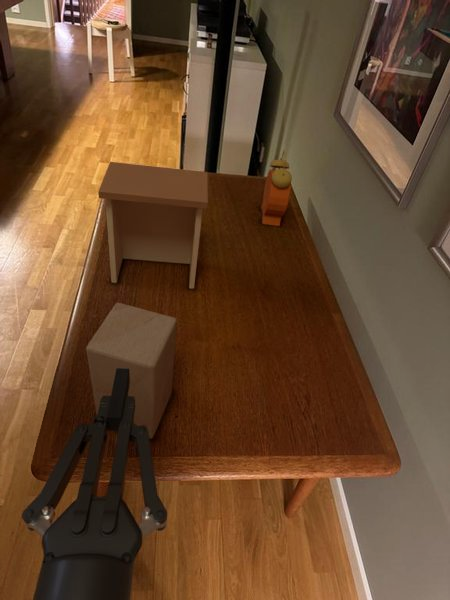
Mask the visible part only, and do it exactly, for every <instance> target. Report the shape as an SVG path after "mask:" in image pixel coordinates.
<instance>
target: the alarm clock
mask: <svg viewBox="0 0 450 600" xmlns="http://www.w3.org/2000/svg"><path fill="white" fill-rule="evenodd" d="M283 157H284V160H283ZM269 167H270V168H273V169H269V170H268V172H267V174H266V178H265V179H266V180H265V183H264V187H263V195H262V196H263V197H262V203H261V206H260V211H261V212H262V213H261V214H262V217H261V223H262V225H268V226H269V225H270V226H275V227H276V226H277V227H280V225H281V220H282V217H283V216H285V214H286V211H287V208H288V206H289V201H290V197H291V192H292V191H291V190H292V180H293V176H292V173H291V171H289V169H290V164H289V162H287V157H286V151H285V150H282V154H281V157H280V158H279V159H273V160H272V161H271V162H270V164H269Z"/></svg>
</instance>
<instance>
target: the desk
mask: <svg viewBox="0 0 450 600" xmlns="http://www.w3.org/2000/svg"><path fill="white" fill-rule="evenodd" d="M208 176H209V173H208V172H207V171H198V170H189V169H183V168H182V169H181V168H174V167H173V168H172V167H171V168H170V167H162V166H152V165H145V164H137V163H136V164H135V163H125V162H117V161H109V163H108V166H107V169H106V171H105V174H104V176H103V178H102V181H101V183H100V186H99V188H98V190H97V191H98V199H101V200H102V199H104V200H105V213H106V224H107V225H106V227H107V240H108V251H109V252H108V253H109V268H110V279H111V284H112V283H113V284H117V283H118V280H119V275H120V272H121V267H122V263H123V259H124V260H136V261H146V262H147V261H148V262H149V261H150V262H161V263H172V264H173V263H174V264H187V265H189V281H188V284H189V285H188V287H189V288H188V289H195V283H196V274H197V265H198V258H199V257H198V256H199V246H200V239H201V237H200V236H201V229H202V219H203V209H206V210H207V209H208V207H209V206H208V205H209V180H208V179H209V177H208Z"/></svg>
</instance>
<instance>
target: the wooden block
mask: <svg viewBox="0 0 450 600" xmlns="http://www.w3.org/2000/svg"><path fill="white" fill-rule="evenodd" d="M177 325H178V319H177V318H176V317H174V316H170V315H167V314H163V313H159V312H155V311H151V310H148V309H144V308H142V307H141V308H140V307H137V306H133V305H129V304H126V303H122V302H115V304H114V305H113V307H112V308H111V310H110V311H109V313H108V315H107V316H106V317H105V318H104V320H103V322H102V323H101V325H100V326H99V328H98V329H97V331H95V333H94V335H93V336H92V338H91V339H90V340H89V342H88V344H87V345H86V347H85V350H86V357H87V363H88V369H89V377H90V381H91V389H92V395H93V401H94V407H95V413H96V415H97V414H98V409H99V405H100V400H101V398H102V397H103V395H105V396H111V393H112V388H113V383H114V378H115V373H116V368H123V369H129V374H130V385H129V391H128V396H134V398H135V414H134V421H133V423H134V424H135V425H138V426H141V425H144V426H146V427H147V429H148V435H149V440H150V439H153V438H154V437H155V434H156V432H157V430H158V427H159V425H160V423H161V421H162V418H163V416H164V413H165V410H166V408H167V405H168V403H169V401H170V398H171V396H172V394H173V393H172V392H173V380H174V365H175V352H176V338H177V327H178V326H177Z"/></svg>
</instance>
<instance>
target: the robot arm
mask: <svg viewBox="0 0 450 600" xmlns="http://www.w3.org/2000/svg"><path fill="white" fill-rule="evenodd" d="M129 385H130V374H129V369H123V368H116V373H115V378H114V383H113V388H112V393H111V396H105V395H103V397H102V398H101V400H100V405H99V409H98V414H96V416H94V418H93V421H92V423H87V424H85V423H79V424H78V425H76V426H75V428H74V430H73V432H72V434H71V436H70V437H69V439H68V441H67V442H66V444H65V447H64V449H63V450H62V453H61V454H60V456H59V458H58V460H57V462H56V464H55V465H54V467H53V469H52V470H51V473H50V475H49V476H48V477H47V480H46V482H45V484H44V486H43V488H42V489H41V492H40V493H39V494H38V495H37V496H36V497H35V498H34V499H33V501H32V502H31V503H29V505H27V507H26V508H25V509H24V510H23V511H22V513H21V518H22V520H23V522H24V524H25V526H26V527H27V528H28V530H29V531H31V532H34V531H35V532H36V533H37V534H38V535H39V536H41V547H42V552H43V558H42V562H41V566H40V570H39V573H38V577H37V582H36V585H35V589H34V593H33V597H32V600H131V597H132V589H133V588H132V587H133V578H134V571H135V560H136V558H137V555H138V554H139V552H140V550H141V549H142V546H143V540H144V539H145V538H147V537H148V536H150V535H151V534H153V533H154V532H156V531H158V532H161V531H163V530H165V529H166V527H167V521H168V510H167V508H166V507H165V505H164V504H163V502H162V499H161V498H160V496H159V494H158V488H157V482H156V476H155V469H154V468H155V467H154V461H153V455H152V448H151V443H150V438H149V435H148V429H147V427H146V426H144V425H141V426H138V425H135V424H134V423H133V421H134V414H135V398H134V396H128V391H129ZM109 431H117V437H116V442H115V448H114V454H113V460H112V465H111V471H110V477H109V482H108V484H107V490H106V495H102V496H98V490H99V483H100V479H101V472H102V468H103V463H104V457H105V451H106V448H107V447H106V445H107V441H108V432H109ZM131 443H135V444H136V450H137V458H138V465H139V472H140V482H141V489H142V496H143V505H144V507H143V508H142V509H141V511H140V519H141V521H140V522H139V523H137V521H136V519H135V517H134V515H133V513H132V512H131V510H130V508H129V506H128V505H127V503H126V501H125V500H124V493H125V484H126V478H127V473H128V464H129V458H130V450H131ZM88 445H89V447H88ZM87 447H88V450H87V455H86V459H85V465H84V469H83V474H82V477H81V482H80V483H79V487H78V491H77V496H76V499H75V500H74V501H72V502H71V503H70V505H68V507H67V508H66V509H65V510H64V511H62V513H61V514H60V515H59V516H58V517H57V518H56V512H55V510H56V509H57V507H58V505H59V504H60V502H61V500H62V498H63V495H64V494H65V491H66V490H67V487H68V485H69V483H70V481H71V480H72V478H73V475H74V473H75V471H76V469H77V467H78V465H79V463H80V462H81V459H82V457H83V455H84V453H85V451H86V449H87ZM55 518H56V519H55Z"/></svg>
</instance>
